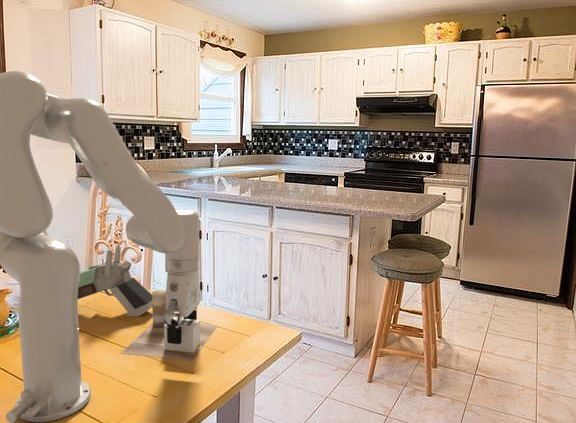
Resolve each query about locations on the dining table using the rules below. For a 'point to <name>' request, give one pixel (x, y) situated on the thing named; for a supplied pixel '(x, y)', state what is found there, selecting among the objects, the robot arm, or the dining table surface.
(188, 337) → the white rectangular block
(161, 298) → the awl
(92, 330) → the dining table surface
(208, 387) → the dining table surface
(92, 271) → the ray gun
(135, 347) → the board
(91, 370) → the dining table surface
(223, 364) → the dining table surface
